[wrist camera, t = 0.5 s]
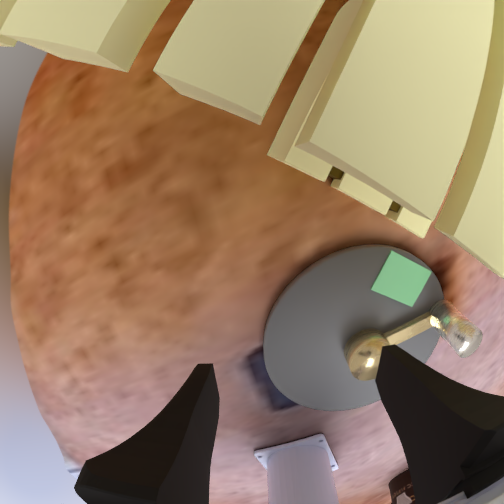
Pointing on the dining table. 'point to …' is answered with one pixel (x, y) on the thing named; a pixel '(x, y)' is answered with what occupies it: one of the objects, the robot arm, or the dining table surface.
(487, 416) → the robot arm
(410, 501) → the coffee mug
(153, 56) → the dining table surface
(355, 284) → the dial plate
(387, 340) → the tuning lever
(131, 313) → the dining table surface
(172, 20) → the dining table surface
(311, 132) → the slatted curved stool
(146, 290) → the dining table surface
